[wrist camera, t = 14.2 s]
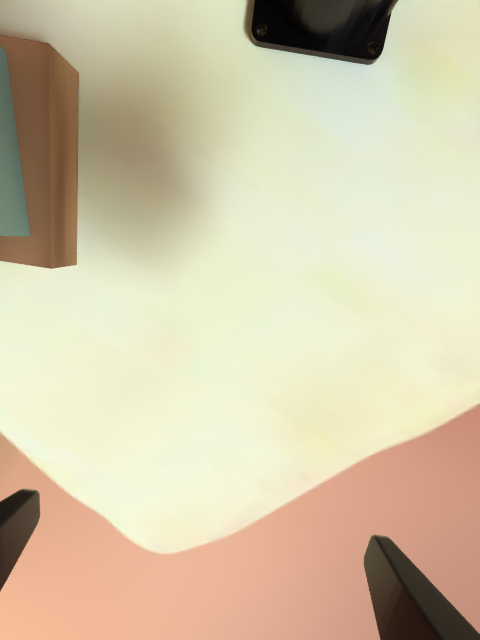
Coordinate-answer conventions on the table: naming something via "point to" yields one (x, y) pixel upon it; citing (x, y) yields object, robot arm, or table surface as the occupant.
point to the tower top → (10, 163)
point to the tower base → (44, 152)
